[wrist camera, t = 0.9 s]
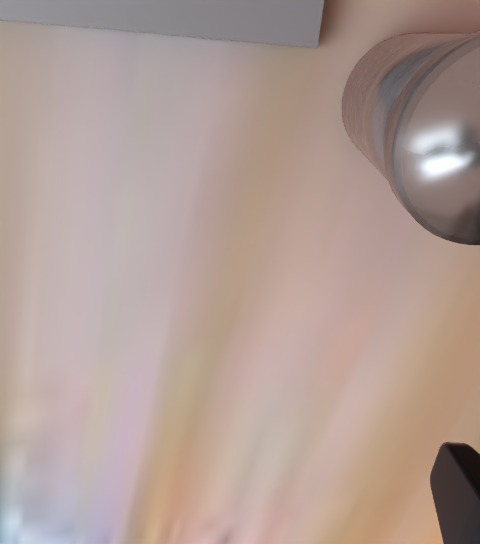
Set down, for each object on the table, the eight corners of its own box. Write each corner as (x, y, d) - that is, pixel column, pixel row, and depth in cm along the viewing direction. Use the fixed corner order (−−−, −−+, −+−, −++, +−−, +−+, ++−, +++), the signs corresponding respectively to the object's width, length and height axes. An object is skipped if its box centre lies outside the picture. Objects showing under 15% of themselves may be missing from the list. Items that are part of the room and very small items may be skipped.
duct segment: (488, 34, 15) (666, 35, 9) (447, 170, 18) (566, 253, 11) (351, 22, 15) (427, 13, 9) (327, 160, 18) (374, 237, 11)
